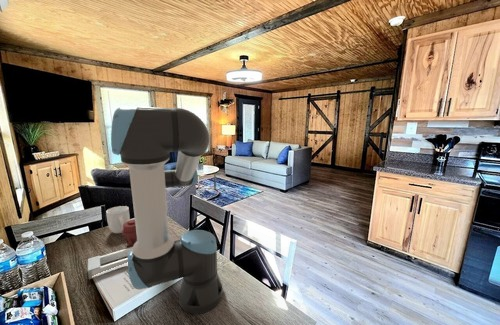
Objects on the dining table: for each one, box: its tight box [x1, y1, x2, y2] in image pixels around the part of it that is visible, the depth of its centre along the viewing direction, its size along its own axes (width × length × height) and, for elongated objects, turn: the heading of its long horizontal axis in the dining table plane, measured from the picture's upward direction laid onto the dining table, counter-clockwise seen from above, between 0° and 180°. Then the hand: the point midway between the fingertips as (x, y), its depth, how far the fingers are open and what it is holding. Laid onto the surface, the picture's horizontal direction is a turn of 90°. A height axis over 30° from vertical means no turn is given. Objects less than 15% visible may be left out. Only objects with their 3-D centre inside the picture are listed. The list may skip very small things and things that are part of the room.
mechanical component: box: [121, 219, 137, 247], centre depth 106 cm, size 12×10×10 cm
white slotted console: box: [87, 246, 133, 280], centre depth 92 cm, size 9×21×4 cm, turn 127°
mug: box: [105, 205, 131, 234], centre depth 118 cm, size 15×11×13 cm
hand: (156, 236), depth 101 cm, fingers open, 13 cm apart
